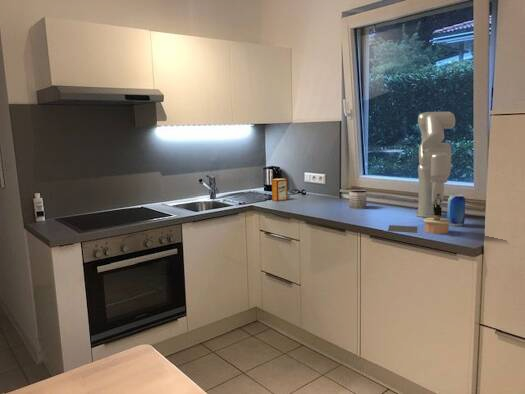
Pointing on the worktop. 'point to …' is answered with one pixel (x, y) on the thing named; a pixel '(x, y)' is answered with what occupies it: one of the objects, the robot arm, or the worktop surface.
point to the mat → (402, 228)
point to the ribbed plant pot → (357, 199)
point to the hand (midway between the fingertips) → (437, 213)
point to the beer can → (456, 209)
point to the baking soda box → (279, 190)
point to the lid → (437, 220)
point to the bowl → (436, 228)
